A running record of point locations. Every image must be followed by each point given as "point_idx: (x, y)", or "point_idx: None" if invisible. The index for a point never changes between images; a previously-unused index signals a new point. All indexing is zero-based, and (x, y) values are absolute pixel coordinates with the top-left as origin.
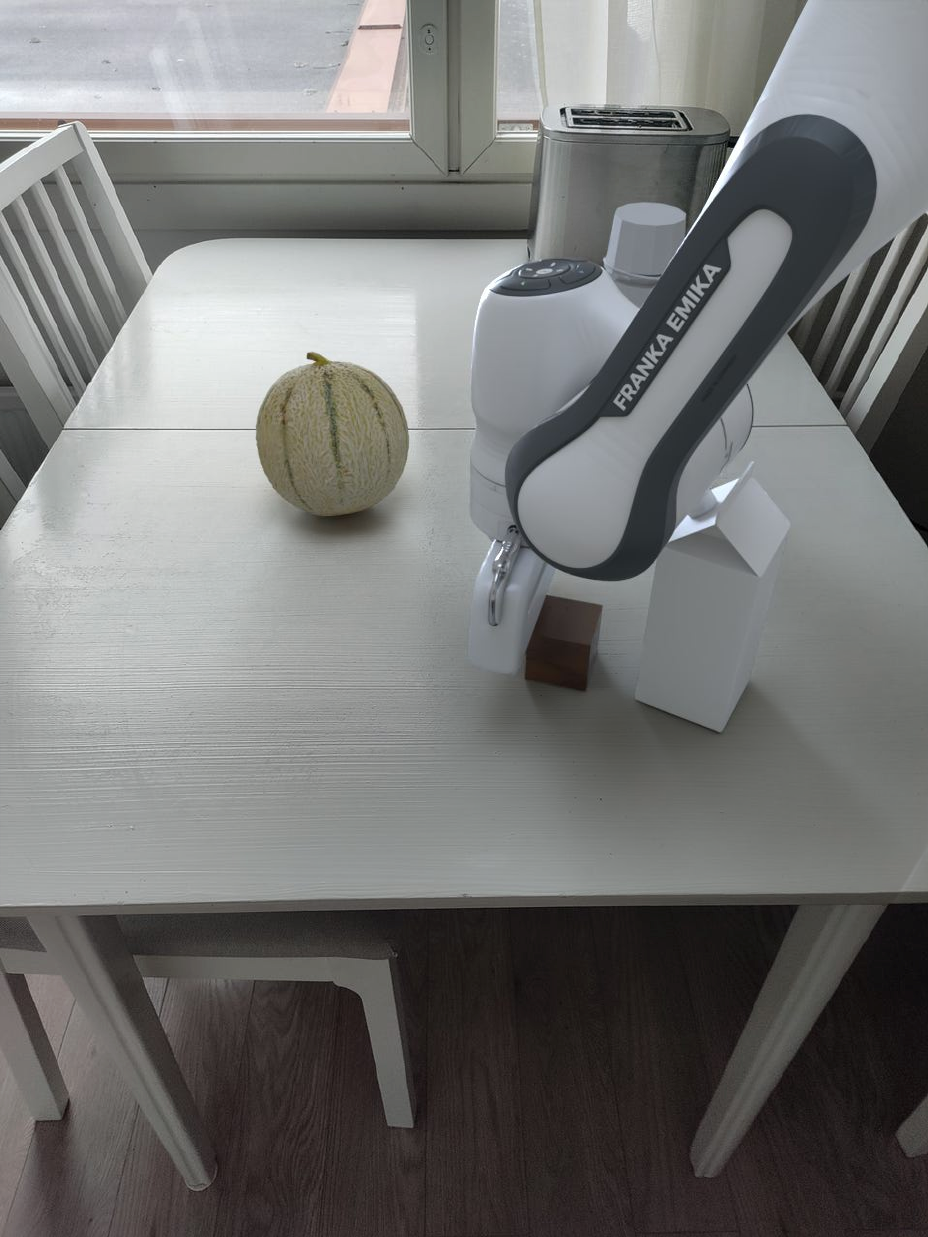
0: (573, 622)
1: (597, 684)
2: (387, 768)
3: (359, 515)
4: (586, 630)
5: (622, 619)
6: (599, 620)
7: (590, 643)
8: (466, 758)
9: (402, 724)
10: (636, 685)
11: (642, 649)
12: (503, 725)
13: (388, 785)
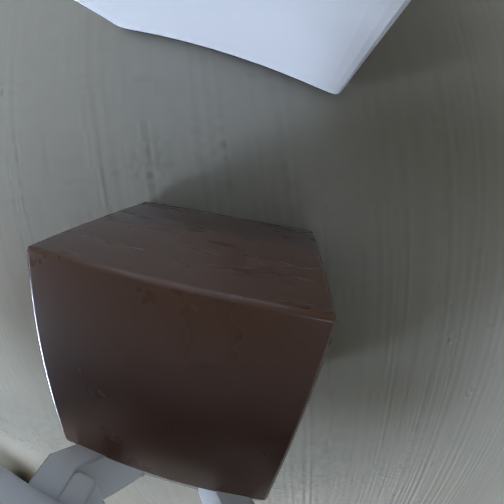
0: (170, 386)
1: (277, 198)
2: (448, 485)
3: (29, 478)
4: (216, 337)
5: (39, 148)
6: (100, 248)
7: (323, 320)
8: (464, 427)
9: (380, 495)
10: (343, 82)
11: (397, 12)
12: (411, 397)
13: (472, 476)
